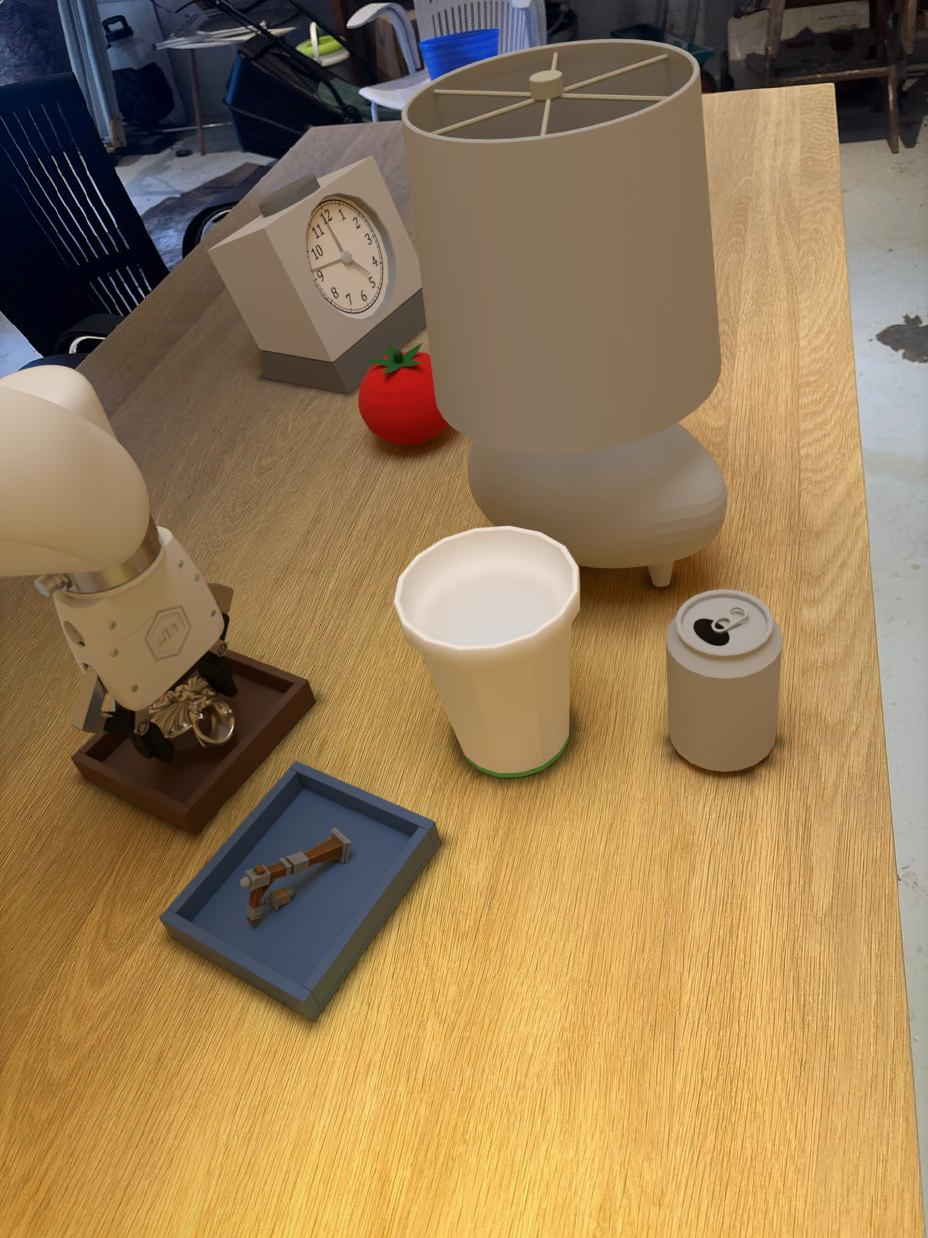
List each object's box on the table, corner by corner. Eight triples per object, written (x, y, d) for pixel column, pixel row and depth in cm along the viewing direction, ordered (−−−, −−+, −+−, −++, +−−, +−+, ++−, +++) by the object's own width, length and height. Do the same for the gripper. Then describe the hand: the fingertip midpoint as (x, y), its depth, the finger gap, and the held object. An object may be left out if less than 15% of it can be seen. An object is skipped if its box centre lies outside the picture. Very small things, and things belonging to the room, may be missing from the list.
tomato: (479, 414, 112) (464, 331, 105) (438, 469, 106) (420, 384, 99) (395, 405, 116) (377, 324, 110) (351, 458, 110) (328, 375, 103)
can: (648, 728, 76) (642, 610, 68) (730, 685, 78) (734, 565, 70) (711, 796, 71) (712, 677, 63) (798, 748, 73) (810, 626, 65)
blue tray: (314, 1022, 63) (303, 1002, 62) (171, 938, 70) (158, 917, 68) (441, 843, 72) (435, 821, 70) (304, 781, 78) (295, 760, 76)
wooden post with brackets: (230, 919, 68) (234, 866, 66) (328, 875, 73) (335, 824, 71) (245, 936, 67) (249, 882, 65) (344, 890, 72) (350, 839, 70)
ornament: (256, 699, 83) (242, 668, 80) (220, 766, 78) (204, 734, 76) (170, 690, 85) (154, 659, 83) (130, 754, 80) (112, 724, 78)
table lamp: (772, 525, 91) (799, 20, 64) (662, 688, 79) (639, 151, 52) (549, 470, 102) (493, 23, 76) (424, 605, 90) (305, 130, 64)
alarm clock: (348, 394, 120) (303, 223, 106) (248, 374, 127) (194, 212, 114) (441, 312, 132) (411, 148, 118) (344, 298, 139) (305, 143, 126)
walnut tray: (195, 836, 76) (183, 815, 74) (83, 778, 82) (69, 757, 80) (316, 701, 84) (308, 679, 82) (206, 657, 90) (196, 636, 88)
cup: (500, 654, 84) (471, 505, 74) (629, 713, 78) (617, 558, 67) (400, 755, 78) (354, 607, 68) (531, 829, 71) (502, 677, 61)
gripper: (40, 645, 63) (147, 821, 74) (228, 486, 72) (295, 663, 84) (-34, 613, 66) (79, 785, 78) (154, 465, 76) (229, 638, 88)
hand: (191, 720), depth 81 cm, fingers closed on ornament, 6 cm apart
